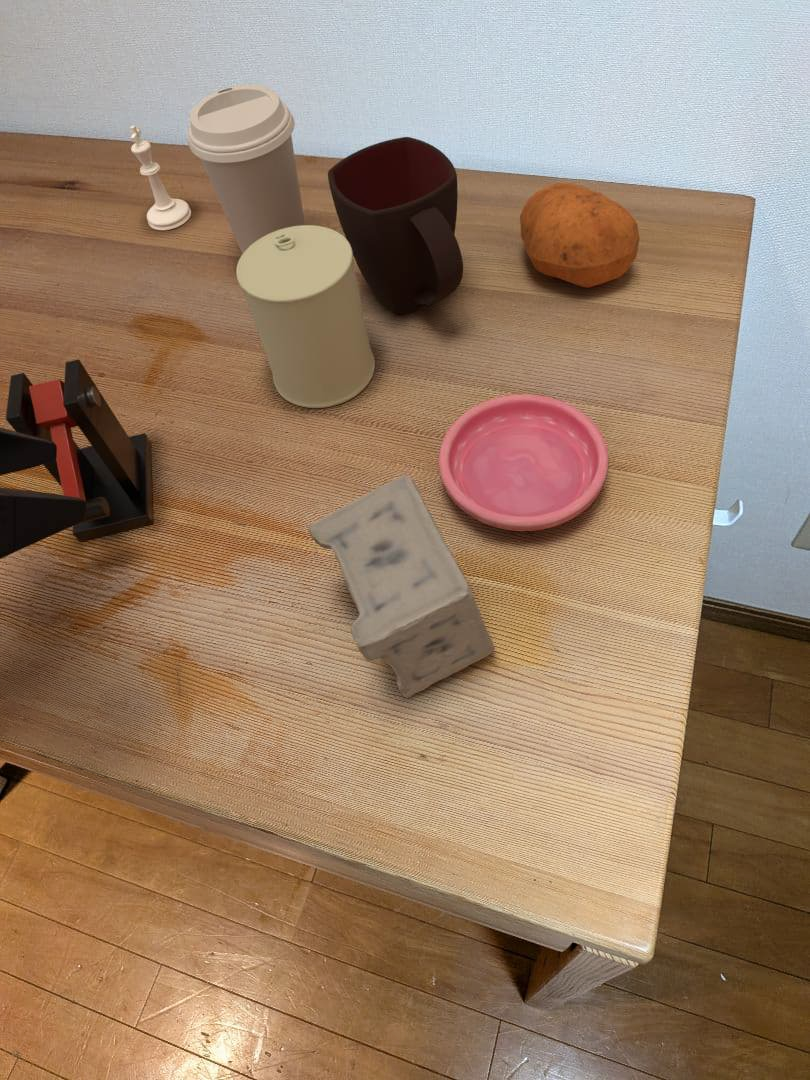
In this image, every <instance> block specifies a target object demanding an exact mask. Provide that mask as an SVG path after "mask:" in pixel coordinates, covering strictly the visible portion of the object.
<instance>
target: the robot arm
mask: <svg viewBox="0 0 810 1080" xmlns="http://www.w3.org/2000/svg"><path fill="white" fill-rule="evenodd" d="M56 458H57V446H56V444H55V443H54V442H52V441H49V440H45V439H41V438H38V437H34V436H30V435H27V434H23V433H19V432H16V431H15V430H12V429H7V428H4V427H1V426H0V477H2V476H4V475H5V476H6V475H8V474H12V473H17V472H21V471H25V470H29V469H33V468H36V467H40V466H44V464H47V463H51V462H54V461H55V460H56ZM85 518H86V503H85V501H84V500H83V499H82V498H77V497H71V496H64V495H63V494H58V493H51V492H43V491H35V490H26V489H18V488H9V487H1V486H0V560H1V559H3V558H6V557H8V556H10V555H12V554H14V553H16V552H18V551H20V550H23V549H25V548H27V547H29V546H32V545H35V544H36V543H38V542H41V541H43V540H45V539H47V538H49V537H51V536H55V535H56V534H58V533H60V532H62V531H65V530H67V529H69V528H73V526H74V525H76V524H78V523H81V522H83V521H84V520H85Z"/></svg>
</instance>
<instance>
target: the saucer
mask: <svg viewBox="0 0 810 1080" xmlns="http://www.w3.org/2000/svg"><path fill="white" fill-rule="evenodd" d="M438 468H439V474H440V475H439V476H440V479H441V482H442V484H443V487H444V489H445V491H446V493H447V494H448V496H449V497H450V499H451V500H452V501H453V503H454V504H455V505H456V506H457V507H458V508H459V509H460V510H462V511H463V512H464V513H465V514H467V515H468V516H470V517H471V518H473V519H475V520H476V521H478V522H481V523H482V524H484V525H487V526H490V527H493V528H496V529H502V530H507V531H515V532H532V531H541V530H545V529H551V528H554V527H558V526H559V525H562V524H564V523H567V522H568V521H570V520H572V519H575V517H577V516H579V515H580V514H581V513H583V512H584V511H585V510H587V509H588V508H589V507H590V506H591V505H592V503H593V502H595V500H596V499H597V497H598V496H599V494H600V493H601V491H602V488H603V487H604V485H605V482H606V478H607V475H608V470H609V452H608V447H607V443H606V440H605V438H604V436H603V434H602V431H600V429H599V427H598V426H597V425H596V424H595V422H594V421H593V420H592V419H591V418H590V417H589V416H588V415H587V414H586V413H584V412H583V411H581V410H580V409H578V408H577V407H575V406H573V405H571V404H569V403H567V402H565V401H562V400H559V399H557V398H554V397H549V396H546V395H539V394H529V393H517V394H516V393H515V394H508V395H502V396H497V397H494V398H491V399H487V400H485V401H482V402H481V403H477V404H476V405H474V406H473V407H471V408H469V409H468V410H466V411H465V412H464V413H462V415H460V416H459V417H458V418H457V419H456V420H455V421H454V422H453V423H452V425H451V426H450V427H449V428H448V430H447V432H446V433H445V435H444V436H443V439H442V442H441V445H440V448H439V452H438Z"/></svg>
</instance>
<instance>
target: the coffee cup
mask: <svg viewBox="0 0 810 1080" xmlns="http://www.w3.org/2000/svg"><path fill="white" fill-rule="evenodd" d="M189 123H190V124H189V126H188V131H187V132H188V134H187V140H188V147H189V150H190V151H191V153H192V154H194V156H196V157H197V158H199V159H200V161H201V163H202V166H203V168H204V170H205V173H206V175H207V177H208V179H209V181H210V183H211V186H212V188H213V191H214V193H215V195H216V197H217V200H218V201H219V203H220V206H221V208H222V211H223V212H224V215H225V218H226V220H227V222H228V224H229V226H230V228H231V231H232V233H233V235H234V238H235V240H236V242H237V245H238V247H239V249H240V251H241V254H243V253H244V252H245V251H246V249H247V248H249V247H250V246H251V245H252V244H253V243H254V242H256V241H257V240H259V239H260V238H262V237H264V236H266V235H268V234H270V233H272V232H275V231H277V230H280V229H284V228H288V227H293V226H302V225H306V222H305V215H304V210H303V203H302V197H301V196H302V195H301V190H300V183H299V176H298V170H297V169H298V168H297V164H296V157H295V151H294V143H293V137H292V134H293V132H294V129H295V125H296V124H295V123H296V122H295V118H294V116H293V114H292V112H291V110H290V109H289V107H288V106H287V104H285V102H284V101H282V100H281V99H280V96H279V94H278V93H277V92H275V90H274V89H271V88H270V87H267V86H265V85H264V86H263V85H260V84H259V85H258V84H241V85H234V86H229V87H226V88H222V89H219V90H216V91H214V92H212V93H210V94H208V95H207V96H205V97H203V98H202V99H201V100H199V101H198V102H197V103H196V104H195V105H194V106H193V108H192V109H191V111H190V115H189Z"/></svg>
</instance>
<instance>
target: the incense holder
mask: <svg viewBox="0 0 810 1080" xmlns="http://www.w3.org/2000/svg"><path fill="white" fill-rule="evenodd" d="M308 533H309V535H310V538H312V539H313V541H314V542H315V543H316V544H317V545H318V546H319V547H320V548H322V549H326V550H332V552H333V555H334V557H335V558H336V560H337V562H338V565H339V567H340V570H341V573H342V575H343V577H344V583H345V587H346V589H347V590H348V592H349V594H350V596H351V599H352V600H353V603H354V605H355V607H356V609H357V611H358V612H357V613H358V614H359V615H358V617H356V619H355V620H354V621H353V622H352V623H351V624H350V628H349V629H350V632H351V635H352V638H353V640H354V641H355V645H356V647H357V649H358V651H359V652H360V654H361V655H362V656H363V658H364V659H366V660H367V661H368V662H374V661H376V660H379V659H381V658H382V659H383V660H384V661H385V662H386V663H387V664H388V665H389V666H390V667H391V669H392V670H393V672H394V673H395V676H396V684H397V685H396V686H397V687H398V690H399V692H400V694H402V697H404V698H407V699H409V698H411V697H412V696H413V695H415V694H419V693H420V692H423V691H424V690H426V689H427V688H428V687H430V686H432V685H433V684H436V683H437V682H439V681H441V680H443V679H446V678H449V677H450V676H451V675H453V674H455V673H458V672H459V671H461V670H463V669H465V668H467V667H469V666H470V665H473V664H475V663H476V662H479V661H481V660H483V659H485V658H487V657H488V656H490V655H491V654H494V653H495V649H496V647H495V645H494V641H493V639H492V638H491V636H490V634H489V632H488V629H487V627H486V625H485V622H484V620H483V618H482V615H481V613H480V610H479V608H478V606H477V603H476V600H475V597H474V594H473V592H472V589H471V586H470V585H469V582H468V580H467V578H466V576H465V575H464V572H463V571H462V569H461V567H460V566H459V564H458V562H457V560H456V558H455V556H454V555H453V553H452V551H451V549H450V547H449V546H448V544H447V542H446V540H445V538H444V537H443V535H442V533H441V531H440V529H439V528H438V526H437V524H436V522H435V520H434V518H433V515H432V514H431V512H430V510H429V508H428V506H427V504H426V502H425V500H424V498H423V496H422V495H421V492H420V490H419V488H418V486H417V483H416V482H415V481H414V479H413V478H412V477H411V475H407V474H406V475H402V476H398V477H395V478H393V479H392V480H391V481H389V482H387V483H385V484H384V485H381V486H379V487H377V488H374V489H373V490H371V491H369V492H368V493H365V494H363V495H360V496H359V497H357V498H355V499H354V500H352V501H351V502H348V503H346V504H345V505H343V506H342V507H340V508H337V509H336V510H333V512H331V513H328V514H326V515H325V516H323V517H321V518H320V519H318V520H317V521H314V522H310V523H309V525H308Z"/></svg>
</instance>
